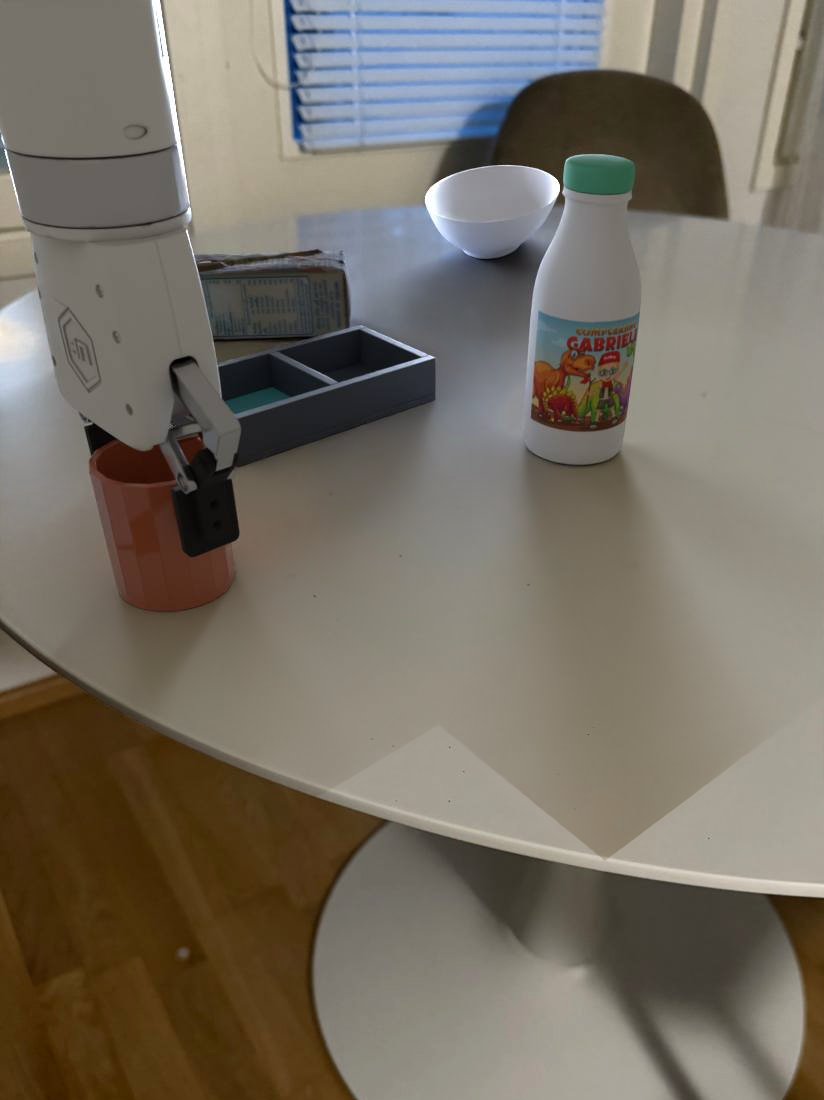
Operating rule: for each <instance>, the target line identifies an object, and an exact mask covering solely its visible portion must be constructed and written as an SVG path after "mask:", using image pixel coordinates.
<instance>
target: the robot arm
mask: <svg viewBox="0 0 824 1100" xmlns="http://www.w3.org/2000/svg"><path fill="white" fill-rule="evenodd" d="M168 55H169V53H168V49H167V41H166V35H165V28H164V22H163V16H162V7H161V2H160V0H0V136H1V140H2V143H3V146H4V151H5V152H4V153H5V156H6V159H7V164H8V167H9V171H10V176H11V180H12V184H13V187H14V192H15V196H16V201H17V204H18V207H19V212H20V215H21V216H20V217H21V221H22V224H23V228H24V229H25V230H26V231H27V232H28V233H29V234H30V243H31V244H30V245H31V253H32V261H33V267H34V274H35V275H34V276H35V281H36V286H37V287H36V288H37V292H38V297H39V303H40V308H41V312H42V318H43V323H44V328H45V333H46V338H47V343H48V348H49V352H50V358H51V362H52V366H53V372H54V376H55V380H56V385H57V388H58V390H59V393H60V395H61V396H62V398H63V399H64V401H65V402H66V403H67V404H68V405H69V406H70V407H72V408H73V409H74V410H75V411H77V412H78V415H79V417H80V419H81V421H82V422H83V423H84V424H89V423H92V424H89V425H85V426H83V429H84V433H85V437H86V441H87V446H88V450H89V454H90V457H91V456H92V455H93V454H94V452H95V451H96V450H97V449H99V448H100V447H102V446H104V445H106V444H108V443H109V442H111V441H113V440H116V439H119V440H120V441H122V442H123V443H125V444H127V445H128V446H130V447H132V448H134V449H136V450H139V451H148V450H151V449H152V448H153V445H157V444H158V445H159V447H160V449H161V451H162V453H163V455H164V457H165V459H166V461H167V463H168V465H169V467H170V469H171V472H172V474H173V476H174V478H175V480H176V482H177V484H178V486H177V487H174V488H171V493H172V498H173V503H174V508H175V513H176V519H177V524H178V529H179V534H180V540H181V545H182V550H183V552H184V553H186V554H187V555H188V556H189V557H196V556H199V555H201V554H204V553H206V552H209V551H211V550H214V549H217V548H219V547H222V546H224V545H227V544H229V543H232V544H233V543H234V542H236V541H238V539H239V538H240V535H241V532H240V525H239V518H238V511H237V504H236V499H235V491H234V483H233V479H234V478H236V475H237V472H236V471H237V470H236V467H237V466H236V465H237V464H238V462H239V454H238V453H237V450H238V445H239V440H240V435H241V426H240V423H239V421H238V419H237V418H236V416H235V415H234V414H233V412H232V411H231V410H230V408H229V407H228V406H227V404H226V403H225V402H224V400H223V399H222V395H221V385H220V378H219V371H218V365H217V363H218V359H217V354H216V347H215V343H214V340H213V337H212V332H211V327H210V322H209V317H208V312H207V307H206V303H205V299H204V294H203V290H202V286H201V281H200V277H199V273H198V269H197V265H196V261H195V258H194V255H195V254H194V251H193V247H192V244H191V240H190V236H189V233H188V229H187V228H186V227H185V226H187V225H188V224H189V223H190V222H191V221H192V211H191V205H190V198H189V197H190V196H189V192H188V191H189V189H188V183H187V177H186V176H187V175H186V170H185V164H184V158H183V157H184V156H183V150H182V143H181V136H180V131H179V123H178V117H177V111H176V103H175V96H174V90H173V89H174V88H173V82H172V75H171V69H170V63H169V56H168ZM182 417H186V418H188V419H190V420H191V421H193V422H190V423H187V424H184V425H181V426H177V427H176V426H174V427H171V421H172V420H175V419H178V418H182ZM199 437H200V439H201V441H202V443H203V445H204V448H203V449H202V450H199V451H197V453H196V454H195V456H194V458H193V459H192V461H191V462H190V464H189V463H188V461H187V459H186V457H185V455H184V453H183V451H182V449H181V447H180V445H179V444H180V443H183V442H187V441H190V440H193V439H196V438H199Z"/></svg>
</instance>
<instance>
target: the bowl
mask: <svg viewBox="0 0 824 1100" xmlns="http://www.w3.org/2000/svg"><path fill="white" fill-rule="evenodd" d="M559 193H560V183H559V181H558V179H557V178H556V177H554V176H553V175H551V173H548V172H546V171H544V170H542V169H539V168H536V167H535V168H534V167H529V166H523V165H510V164H506V165H505V164H503V165H499V164H498V165H488V166H481V167H476V168H470V169H466V170H462V171H459V172H455V173H454V174H451V175H449V176H446V177H445V178H443V179H441V180H439V181H438V182H436V183H435V184H433V185H432V186H431V187H430V188H429V190H428V191H427V192H426V194H425V199H424V202H425V206H426V209H427V211H428V214H429V216H430V218H431V220H432V222H433V224H434V226H435V227H436V229H437V231H438V232H439V233H440V234H441V236H442V237H443V238H444V239H445V240H446V241H448V242H449V243H450V244H452V246H455V247H456V248H458V249H459V250H461V251H463V252H464V253H465V254H466V255H468V256H469V257H472V258H476V259H483V260H489V259H497V258H501V257H504V256H508V255H510V254H512V253H513V252H515V251H516V250H517V249H518V248H519V247H520V246H521V245H522V244H523V243H525V242H526V241H527V240H529V239H530V238H531V237H532V236H534V234H535V233H536V232H537V231H538V230H539V229H540V228H541V227H542V226H543V224H544V223H545V222H546V220H547V219H548V217H549V215H550V213H551V211H552V209H553V207H554V205H555V203H556V201H557V199H558V197H559Z"/></svg>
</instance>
